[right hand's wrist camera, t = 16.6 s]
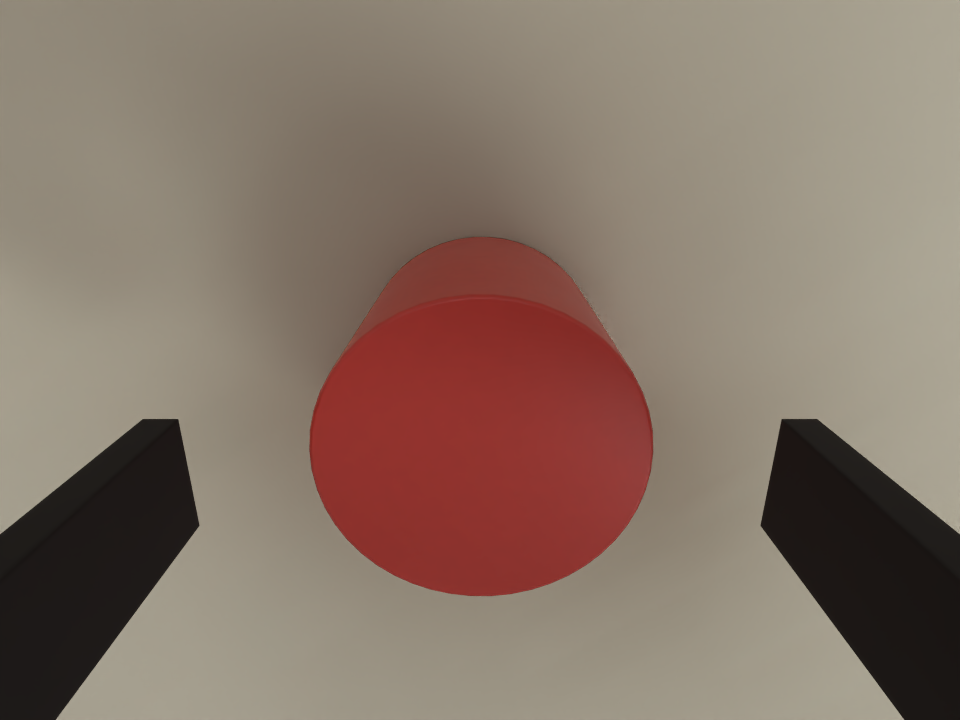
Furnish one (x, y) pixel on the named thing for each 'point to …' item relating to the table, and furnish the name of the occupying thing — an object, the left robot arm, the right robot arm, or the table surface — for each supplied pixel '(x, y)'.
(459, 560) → the canister
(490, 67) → the table surface
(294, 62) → the table surface
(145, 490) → the right robot arm
